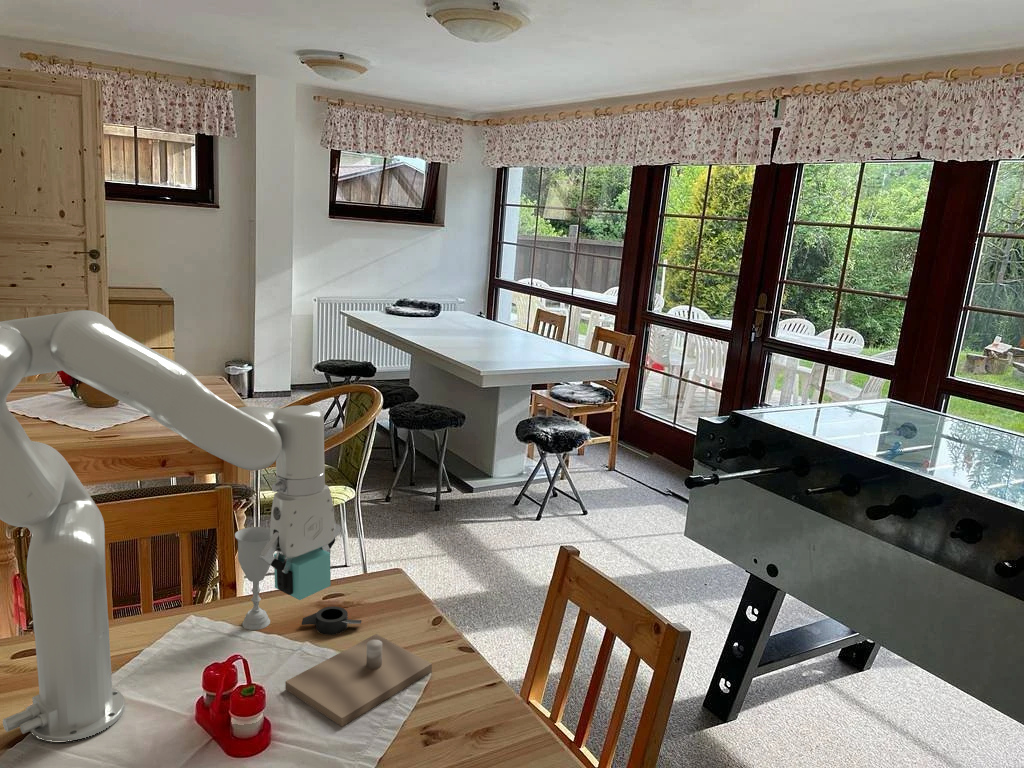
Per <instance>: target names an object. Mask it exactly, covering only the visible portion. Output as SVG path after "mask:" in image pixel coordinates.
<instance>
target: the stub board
mask: <svg viewBox="0 0 1024 768" xmlns="http://www.w3.org/2000/svg"><path fill="white" fill-rule="evenodd" d="M432 669H433V663H432V662H429V661H428V660H427V659H424V658H422V657H421V656H419V655H416V654H415V653H413V652H411V651H409V650H407V649H405V648H404V647H401V646H399V645H398V644H396V643H394V642H392V641H391V640H388V639H387V638H385V637H383V636H381V635H379V634H377V633H376V634H373V635H372V636H369V637H368V638H366V639H364V640H362V641H359V642H358V643H357V644H354V645H353V646H351V647H348V648H347V649H344V650H343V651H340V652H339V653H336V654H335V655H333V656H331V657H329V658H327V659H325V660H324V661H322V662H320V663H318V664H315V665H313V666H312V667H310V668H308V669H307V670H304V671H303V672H301V673H299V674H297V675H295V676H293V677H291V678H289V679H287V680H285V682H284V683H285V687H284V689H285V690H286V691H287V692H288V693H290V694H292V695H294V696H295V697H296V698H298V699H299V700H301V701H302V702H303V703H305V704H307V705H308V706H309V707H311V708H313V709H314V710H316V711H317V712H319V713H321V714H322V715H324V716H325V717H327V718H328V719H330V720H331V721H333V722H334V723H335V724H337V725H339V726H340V727H344V726H346V725H347V724H348V723H350V722H352V721H354V720H355V719H357V718H358V717H360V716H362V715H363V714H366V713H367V712H369V711H370V710H371V709H373V708H375V707H377V706H378V705H380V704H381V703H383V702H385V701H386V700H387V699H389V698H390V697H391V698H392V697H393V696H394V695H396V694H398V693H399V692H400V691H403V689H406V688H407V687H409V686H411V684H414V683H415V682H417V681H419V680H420V679H422V678H423V677H425V676H427V675H428V674H430V673H432V672H433V671H432Z"/></svg>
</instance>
